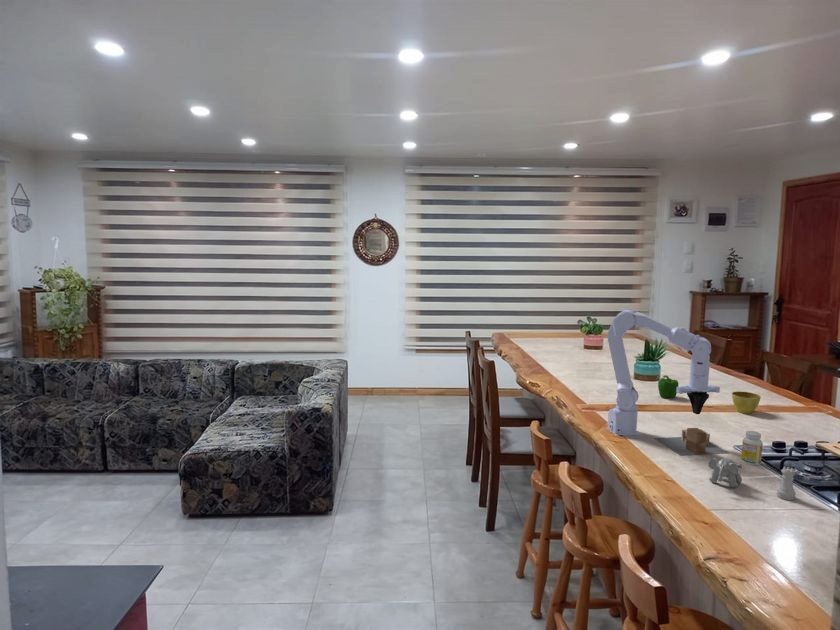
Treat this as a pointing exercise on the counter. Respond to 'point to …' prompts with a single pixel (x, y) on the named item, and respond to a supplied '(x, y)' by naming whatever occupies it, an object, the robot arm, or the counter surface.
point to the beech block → (684, 436)
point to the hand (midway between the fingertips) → (696, 413)
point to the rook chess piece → (787, 485)
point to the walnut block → (696, 440)
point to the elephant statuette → (725, 471)
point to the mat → (680, 446)
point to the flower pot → (745, 401)
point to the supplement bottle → (752, 448)
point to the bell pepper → (667, 387)
